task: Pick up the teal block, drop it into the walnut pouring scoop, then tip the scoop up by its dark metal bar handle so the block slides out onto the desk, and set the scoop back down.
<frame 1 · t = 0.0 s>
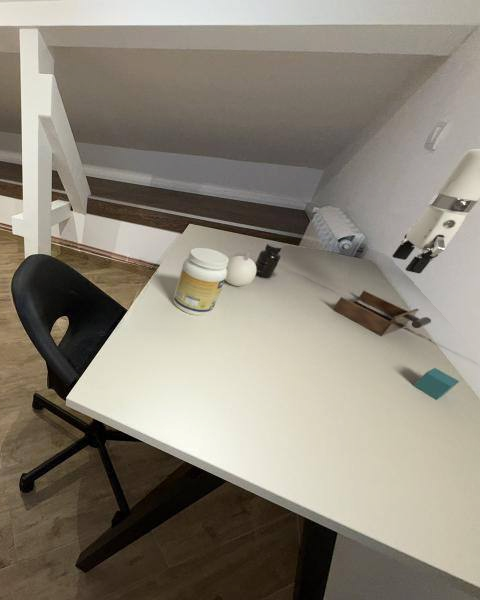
hand: (405, 264, 87), 19 cm above the table, tool pointing down, fingers open, 9 cm apart
supplement bottle: (260, 274, 118), on the table
block: (428, 389, 74), on the table
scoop: (382, 313, 95), point 4 cm above the table, hinge at 0.0°
ornament: (233, 284, 110), on the table
supplement tub: (191, 305, 96), on the table
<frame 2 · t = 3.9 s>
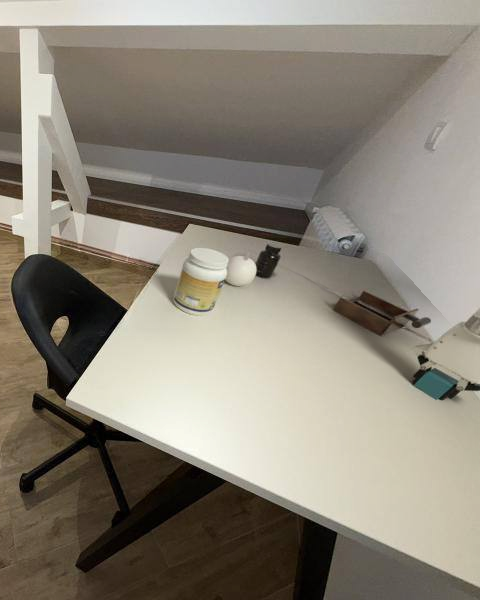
hand: (429, 388, 74), 0 cm above the table, tool pointing down, fingers closed on block, 4 cm apart
block: (428, 389, 74), on the table, touching gripper
everything else where it was.
when the fingers open (1 cm above the table, at t = 11.7 s): block stays where it is, resting on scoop.
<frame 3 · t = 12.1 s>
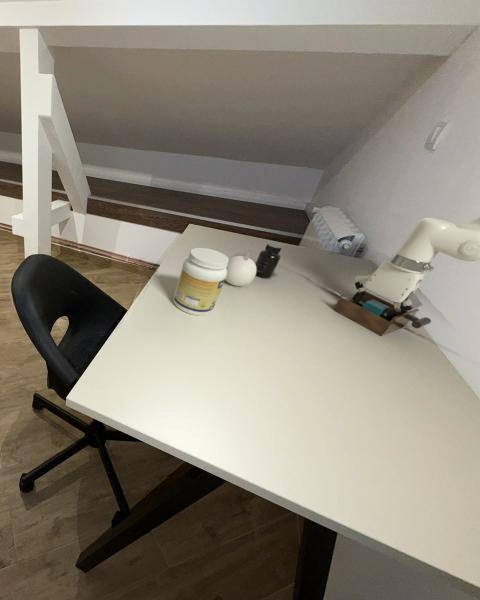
hand: (370, 311, 98), 2 cm above the table, tool pointing down, fingers open, 8 cm apart
block: (368, 315, 98), point 1 cm above the table, touching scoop
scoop: (382, 313, 95), point 4 cm above the table, hinge at -0.2°, touching block
everything else where it was.
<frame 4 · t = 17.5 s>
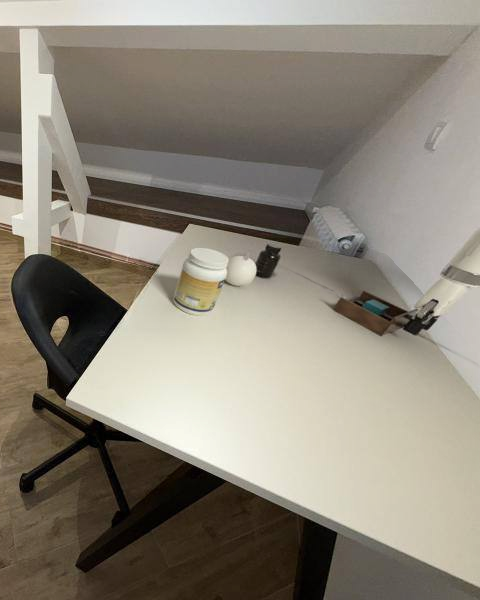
hand: (415, 329, 89), 4 cm above the table, tool pointing down, fingers closed on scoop, 6 cm apart
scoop: (382, 313, 95), point 4 cm above the table, hinge at -0.2°, touching block, gripper
everything else where it was.
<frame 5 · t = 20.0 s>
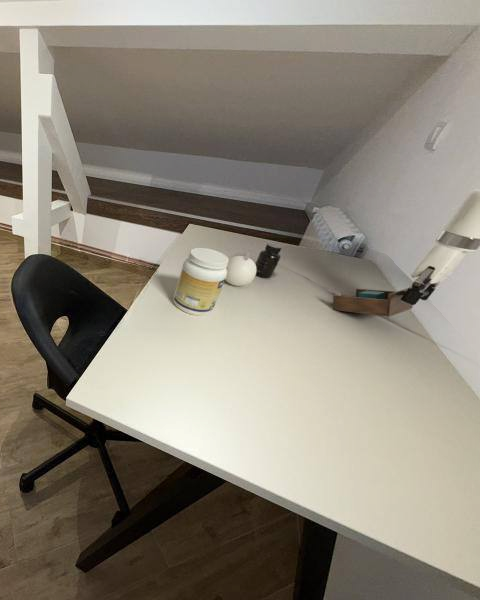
hand: (413, 299, 88), 11 cm above the table, tool pointing down, fingers closed on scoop, 6 cm apart
block: (370, 306, 97), point 4 cm above the table, tilted 26°, touching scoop
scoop: (381, 298, 95), point 7 cm above the table, hinge at 25.8°, touching block, gripper
everything else where it was.
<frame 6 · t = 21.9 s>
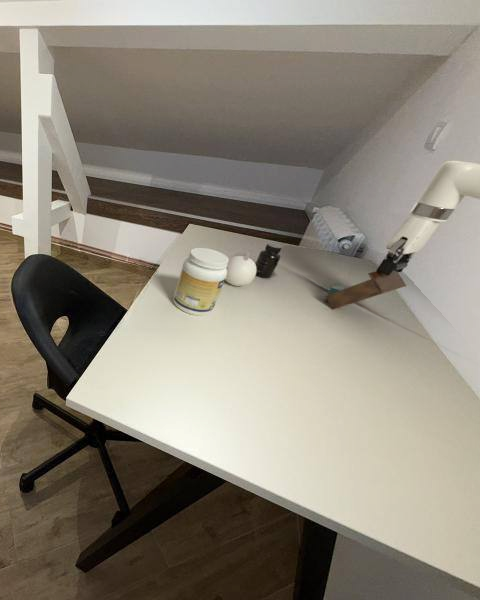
hand: (388, 271, 92), 15 cm above the table, tool pointing down, fingers closed on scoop, 6 cm apart
block: (346, 297, 103), point 3 cm above the table, tilted 99°, touching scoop
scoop: (370, 285, 97), point 10 cm above the table, hinge at 54.6°, touching block, gripper
everything else where it was.
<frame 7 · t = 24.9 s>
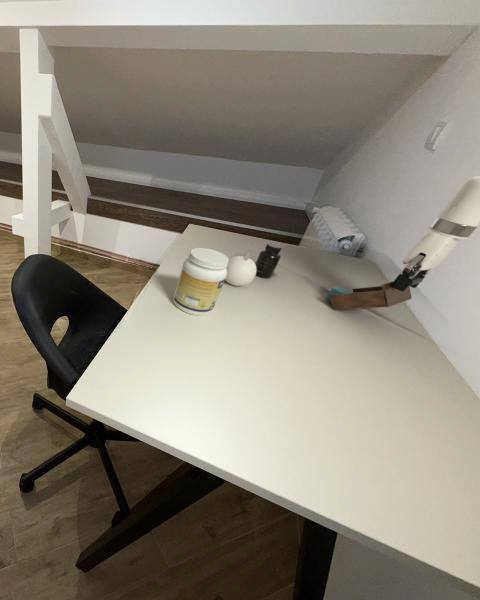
hand: (403, 286, 90), 13 cm above the table, tool pointing down, fingers closed on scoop, 6 cm apart
block: (346, 299, 103), point 2 cm above the table, tilted 90°
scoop: (377, 292, 95), point 8 cm above the table, hinge at 37.6°, touching gripper
everything else where it was.
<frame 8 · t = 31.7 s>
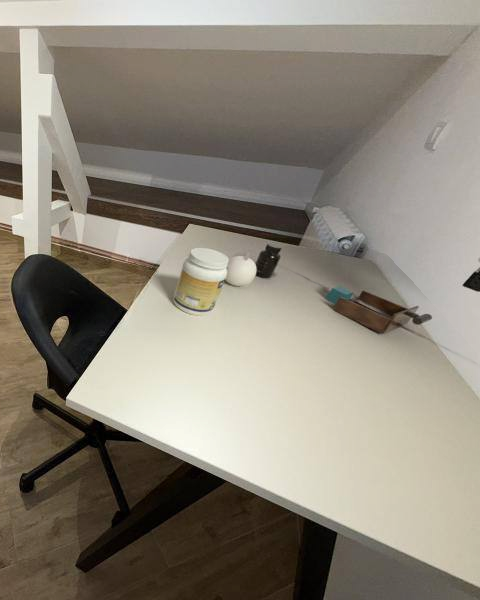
hand: (478, 285, 77), 20 cm above the table, tool pointing down, fingers open, 9 cm apart
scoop: (382, 311, 95), point 4 cm above the table, hinge at 3.2°
everything else where it was.
at the end: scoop reached +56° during the clip, +3° at the end; block inside the target area on the table beside the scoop (6.4 cm from its centre), point 1.8 cm above the table; block touching table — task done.
